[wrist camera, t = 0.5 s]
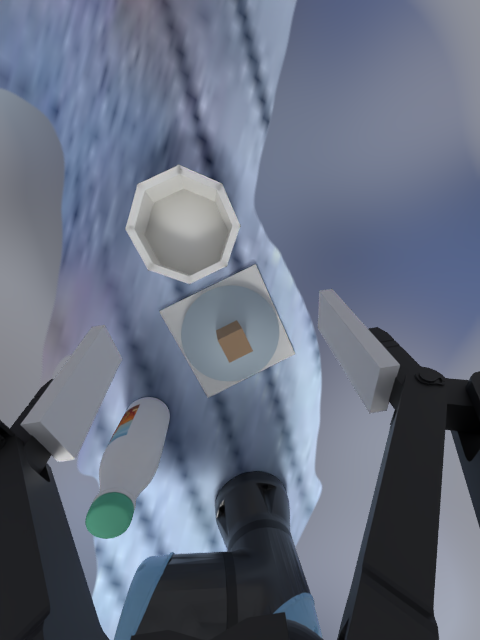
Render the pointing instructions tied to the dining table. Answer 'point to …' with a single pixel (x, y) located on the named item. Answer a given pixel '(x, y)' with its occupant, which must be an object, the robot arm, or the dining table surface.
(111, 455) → the milk bottle
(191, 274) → the bowl
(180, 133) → the dining table surface
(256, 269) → the mat
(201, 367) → the lid
